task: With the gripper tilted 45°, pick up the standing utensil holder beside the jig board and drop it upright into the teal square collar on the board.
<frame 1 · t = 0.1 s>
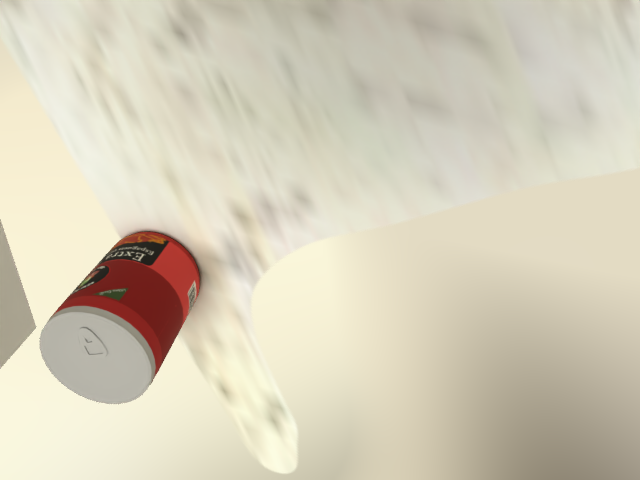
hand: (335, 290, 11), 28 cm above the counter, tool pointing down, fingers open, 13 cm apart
canned food: (158, 269, 46), on the counter
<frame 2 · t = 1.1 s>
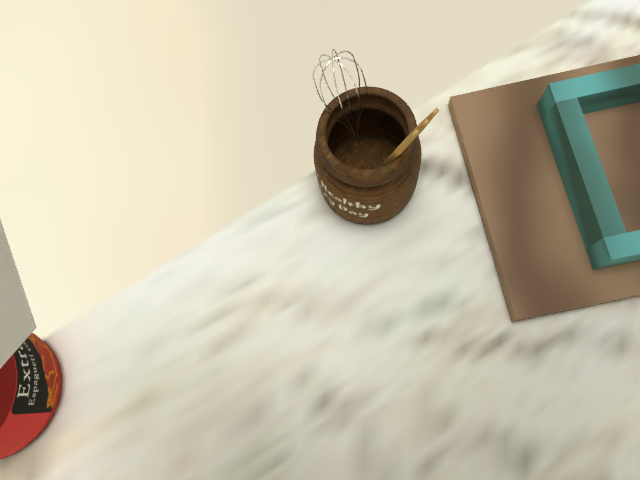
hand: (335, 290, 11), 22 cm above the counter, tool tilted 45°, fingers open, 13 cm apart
utensil holder: (369, 184, 34), on the counter
canned food: (4, 392, 33), on the counter
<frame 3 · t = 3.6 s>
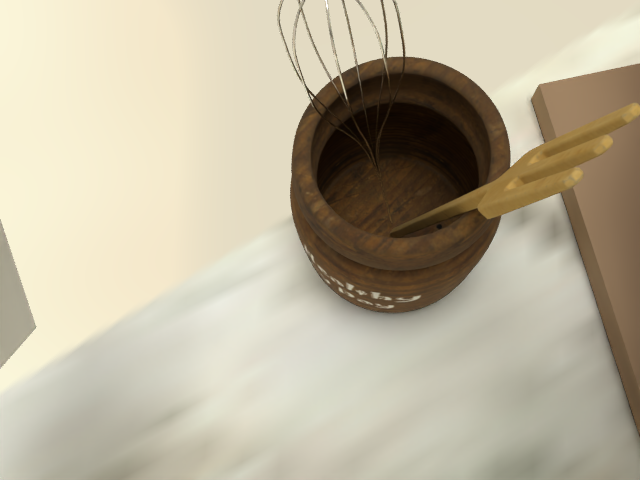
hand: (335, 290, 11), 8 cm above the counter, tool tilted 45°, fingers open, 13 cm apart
utensil holder: (392, 236, 20), on the counter
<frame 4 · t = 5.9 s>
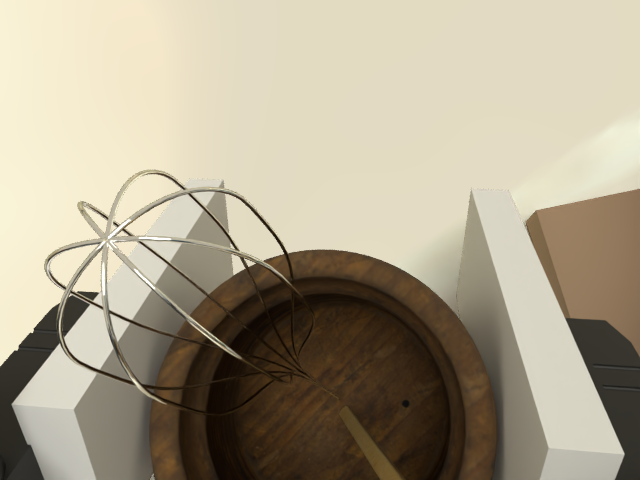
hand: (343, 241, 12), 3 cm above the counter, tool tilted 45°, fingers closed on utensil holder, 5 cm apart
utensil holder: (344, 410, 15), on the counter, touching gripper
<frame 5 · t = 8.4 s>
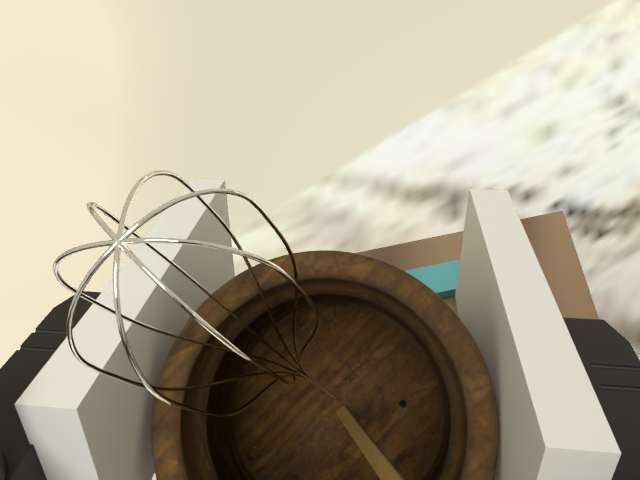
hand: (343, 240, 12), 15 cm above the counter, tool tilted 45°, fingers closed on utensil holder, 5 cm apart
utensil holder: (342, 410, 15), point 11 cm above the counter, touching gripper
cradle jig: (389, 401, 26), on the counter
when the fingers open (6 cm above the counter, at t = 11.2 s): utensil holder drops 1 cm, resting on cradle jig.
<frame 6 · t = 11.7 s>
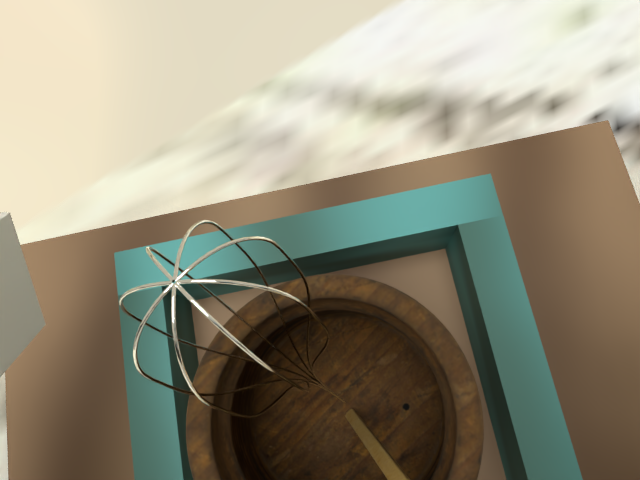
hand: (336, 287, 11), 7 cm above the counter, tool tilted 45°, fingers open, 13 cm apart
utensil holder: (350, 412, 16), point 1 cm above the counter, touching cradle jig
cradle jig: (344, 407, 17), on the counter
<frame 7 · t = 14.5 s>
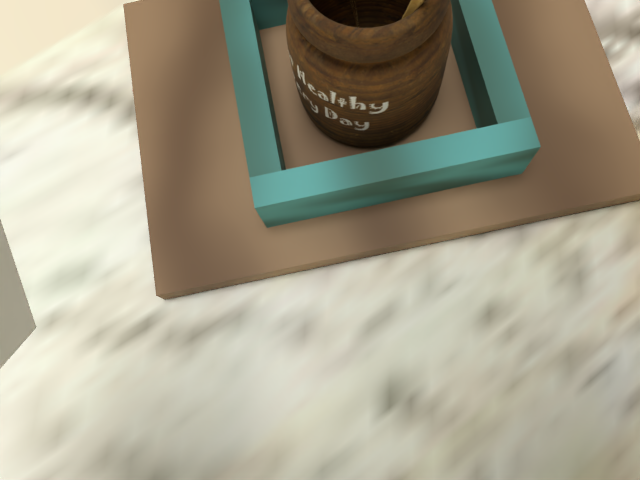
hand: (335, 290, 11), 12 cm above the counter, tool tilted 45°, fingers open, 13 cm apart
utensil holder: (370, 92, 24), point 1 cm above the counter, touching cradle jig
cradle jig: (365, 100, 25), on the counter
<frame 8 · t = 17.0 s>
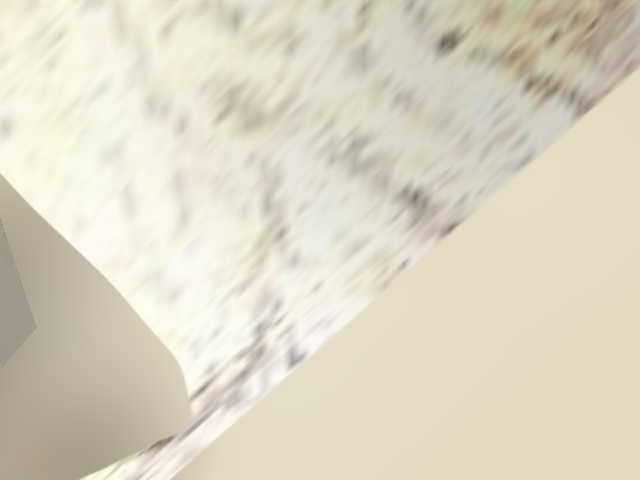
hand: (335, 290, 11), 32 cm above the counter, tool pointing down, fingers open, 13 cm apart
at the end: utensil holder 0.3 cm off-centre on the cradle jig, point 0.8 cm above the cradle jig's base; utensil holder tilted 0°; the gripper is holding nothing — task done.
